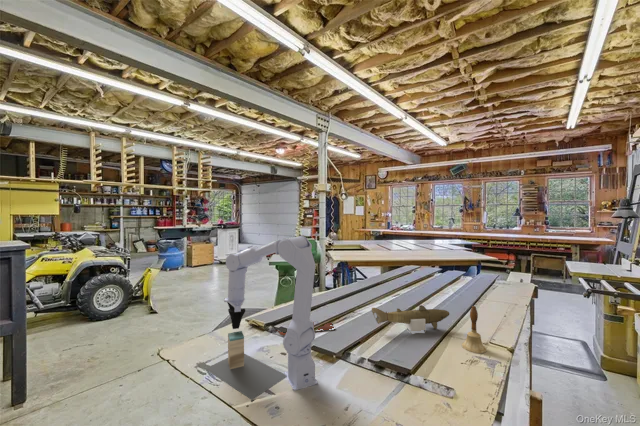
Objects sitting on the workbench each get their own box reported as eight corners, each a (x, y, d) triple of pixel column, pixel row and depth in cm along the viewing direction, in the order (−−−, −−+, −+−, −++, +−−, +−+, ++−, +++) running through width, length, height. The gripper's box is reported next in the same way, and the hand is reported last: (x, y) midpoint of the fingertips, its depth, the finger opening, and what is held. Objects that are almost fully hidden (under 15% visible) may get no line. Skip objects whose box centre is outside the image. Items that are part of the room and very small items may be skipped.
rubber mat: (287, 377, 90) (287, 375, 90) (251, 401, 79) (251, 399, 79) (240, 353, 105) (240, 351, 105) (204, 370, 94) (204, 368, 94)
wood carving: (368, 329, 125) (368, 303, 125) (442, 324, 130) (442, 300, 130) (374, 338, 116) (374, 311, 116) (454, 333, 121) (454, 307, 121)
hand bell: (463, 351, 106) (464, 309, 106) (460, 341, 114) (460, 301, 114) (489, 355, 104) (490, 311, 103) (483, 344, 112) (484, 304, 111)
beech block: (244, 366, 95) (244, 336, 95) (230, 369, 93) (229, 338, 93) (241, 359, 99) (241, 330, 99) (228, 362, 97) (228, 333, 97)
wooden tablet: (331, 322, 134) (331, 318, 134) (336, 331, 124) (337, 327, 124) (273, 327, 128) (273, 323, 128) (274, 337, 118) (274, 333, 118)
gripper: (223, 280, 108) (222, 316, 109) (226, 294, 94) (224, 334, 95) (243, 280, 110) (241, 314, 111) (247, 292, 97) (245, 331, 98)
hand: (234, 323), depth 103 cm, fingers open, 7 cm apart
